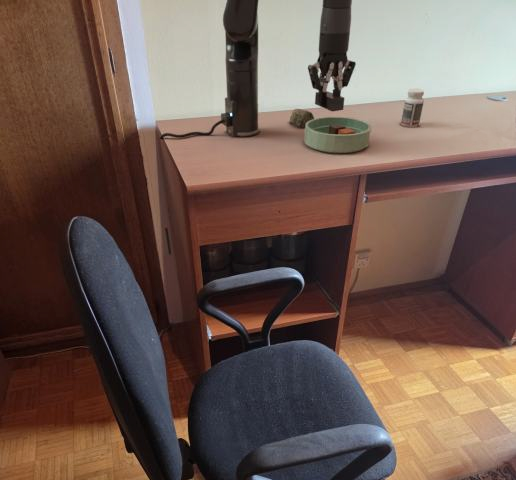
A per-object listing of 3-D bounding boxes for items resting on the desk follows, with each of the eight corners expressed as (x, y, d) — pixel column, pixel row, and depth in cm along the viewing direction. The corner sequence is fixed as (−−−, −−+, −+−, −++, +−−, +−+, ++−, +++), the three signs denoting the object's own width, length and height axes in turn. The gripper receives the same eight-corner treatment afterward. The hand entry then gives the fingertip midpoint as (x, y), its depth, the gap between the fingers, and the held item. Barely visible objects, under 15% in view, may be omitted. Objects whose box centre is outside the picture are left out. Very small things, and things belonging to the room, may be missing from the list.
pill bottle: (417, 122, 148) (424, 88, 141) (420, 127, 143) (427, 92, 137) (399, 122, 148) (405, 88, 141) (401, 127, 144) (408, 92, 137)
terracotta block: (343, 146, 128) (345, 133, 126) (337, 142, 130) (338, 129, 128) (353, 144, 129) (355, 131, 127) (347, 140, 131) (348, 128, 129)
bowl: (325, 158, 122) (327, 139, 119) (293, 139, 135) (293, 121, 131) (381, 148, 128) (384, 129, 125) (345, 131, 141) (347, 113, 137)
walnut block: (334, 141, 131) (335, 128, 129) (327, 137, 134) (329, 125, 131) (344, 139, 132) (345, 126, 130) (337, 136, 135) (339, 123, 133)
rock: (283, 125, 146) (283, 109, 143) (296, 119, 151) (297, 104, 148) (302, 128, 143) (302, 113, 140) (314, 123, 147) (316, 108, 144)
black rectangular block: (343, 109, 121) (344, 97, 119) (332, 111, 120) (333, 99, 118) (325, 102, 127) (326, 90, 125) (314, 104, 126) (315, 92, 124)
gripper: (349, 26, 117) (342, 99, 128) (302, 30, 112) (299, 105, 124) (367, 29, 112) (357, 105, 123) (318, 33, 107) (313, 112, 119)
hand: (328, 105), depth 123 cm, fingers closed on black rectangular block, 3 cm apart
